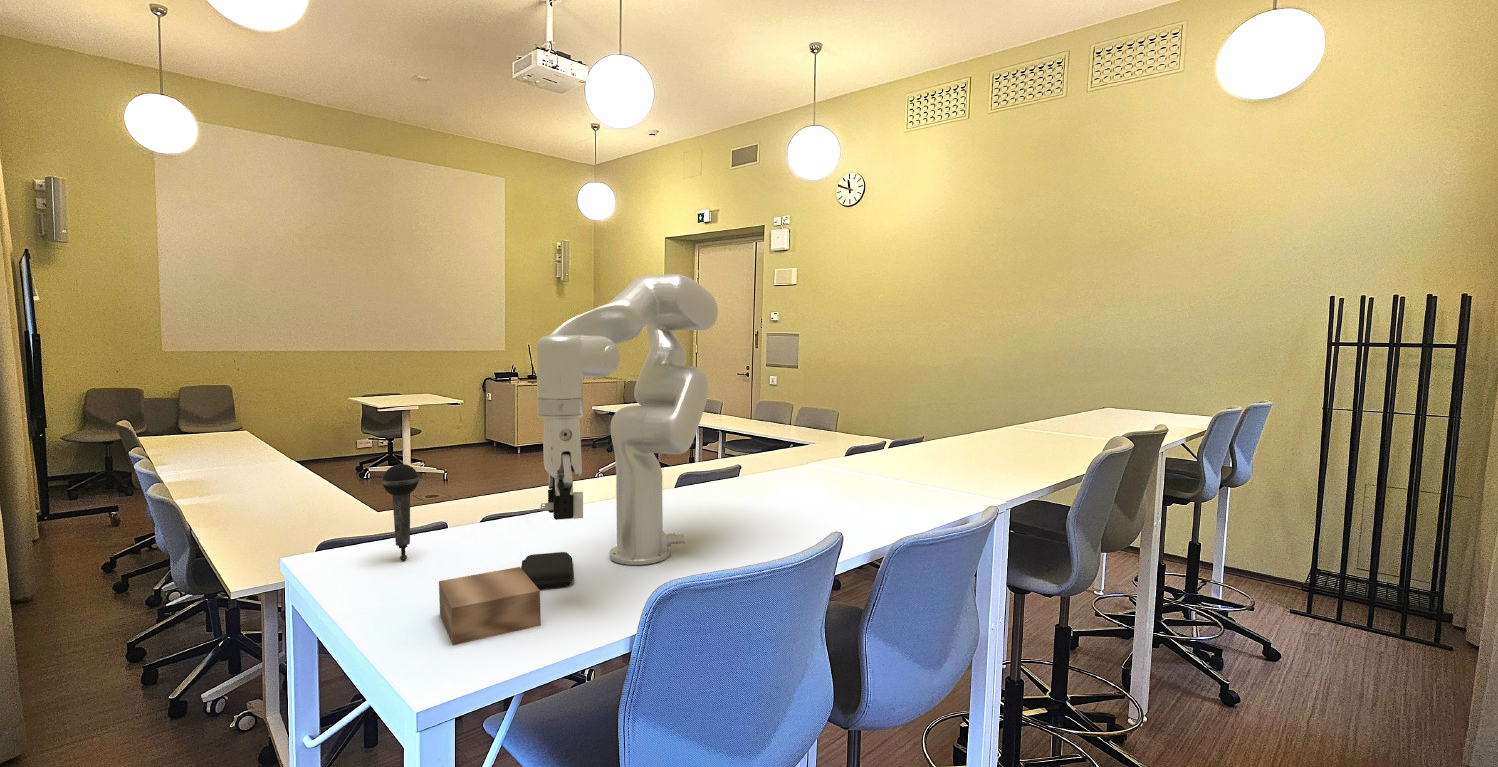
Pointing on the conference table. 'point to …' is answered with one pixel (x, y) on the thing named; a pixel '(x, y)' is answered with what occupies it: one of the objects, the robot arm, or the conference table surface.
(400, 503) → the microphone
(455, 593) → the walnut block
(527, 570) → the carrying case or bag
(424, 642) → the conference table surface
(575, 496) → the usb wall charger
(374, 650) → the conference table surface
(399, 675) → the conference table surface
